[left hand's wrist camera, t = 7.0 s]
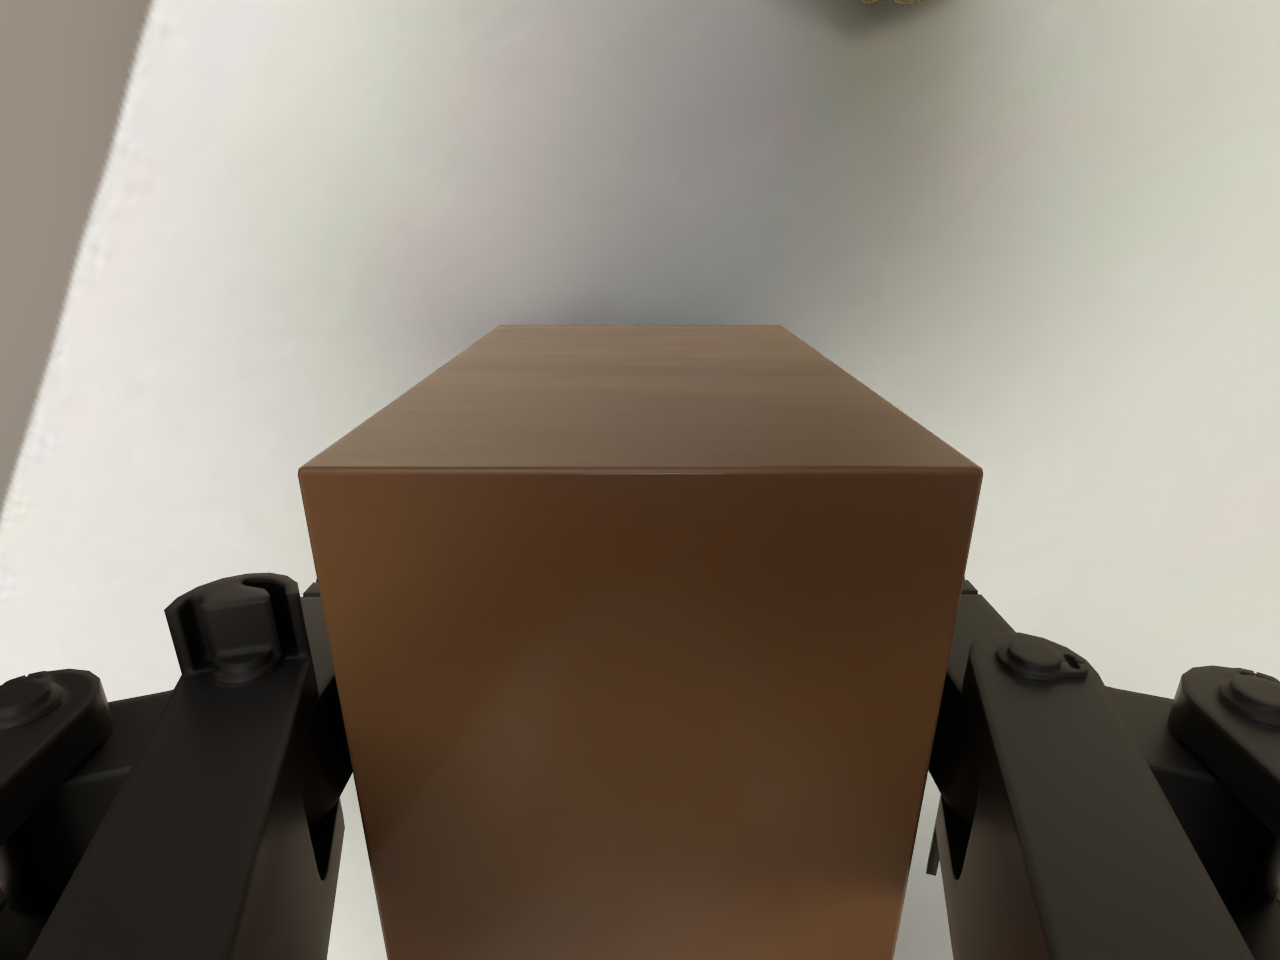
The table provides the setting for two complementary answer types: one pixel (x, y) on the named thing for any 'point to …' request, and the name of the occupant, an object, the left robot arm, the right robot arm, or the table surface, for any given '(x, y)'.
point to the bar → (640, 645)
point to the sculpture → (901, 0)
